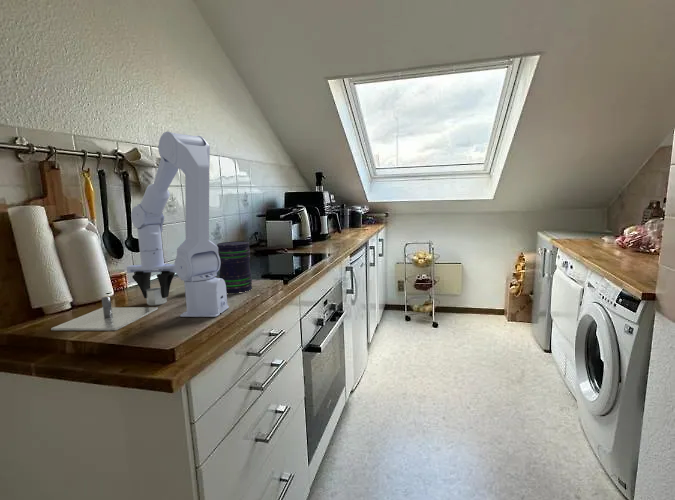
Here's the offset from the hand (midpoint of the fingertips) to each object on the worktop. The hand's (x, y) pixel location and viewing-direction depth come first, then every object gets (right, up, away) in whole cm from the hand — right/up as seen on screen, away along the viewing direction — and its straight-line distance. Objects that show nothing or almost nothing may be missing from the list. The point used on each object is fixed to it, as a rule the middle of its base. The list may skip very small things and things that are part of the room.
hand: (156, 297), depth 105 cm
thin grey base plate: (-5, -4, -13) cm, 15 cm away
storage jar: (+19, +1, +12) cm, 23 cm away
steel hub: (0, -2, 0) cm, 2 cm away
